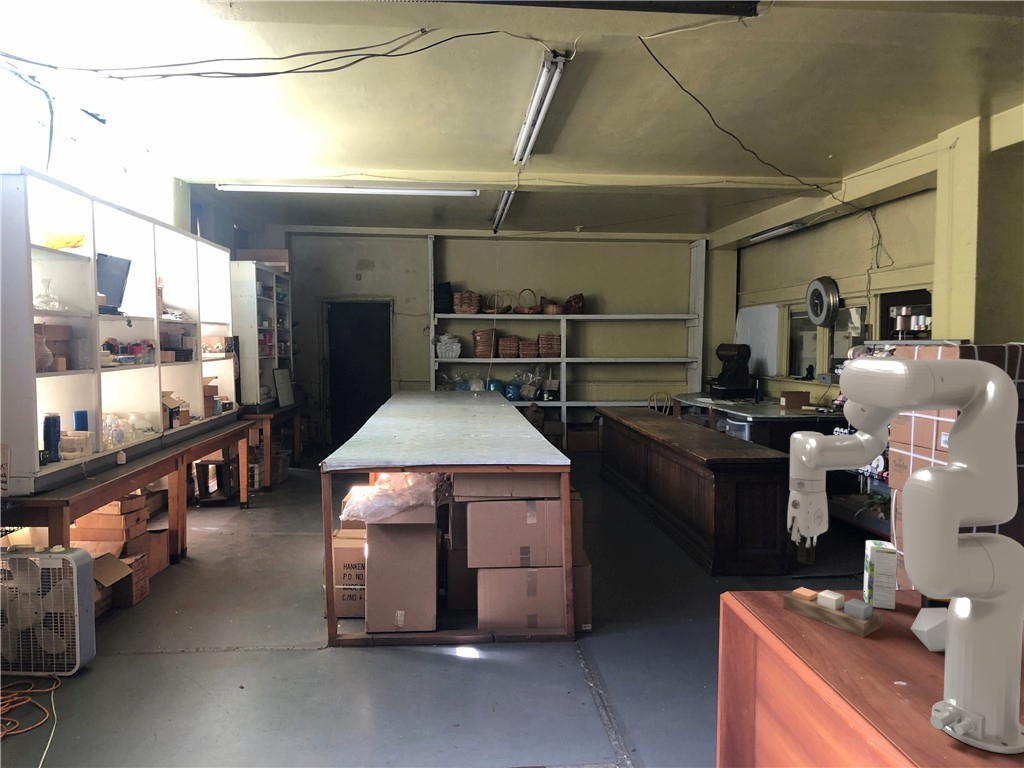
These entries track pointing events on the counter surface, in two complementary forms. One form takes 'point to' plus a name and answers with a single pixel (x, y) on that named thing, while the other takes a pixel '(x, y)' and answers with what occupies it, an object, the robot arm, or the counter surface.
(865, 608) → the grey button
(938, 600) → the battery
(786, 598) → the button board
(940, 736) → the counter surface
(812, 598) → the peach square block
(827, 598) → the cream button
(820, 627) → the counter surface
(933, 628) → the die
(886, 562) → the syrup box
